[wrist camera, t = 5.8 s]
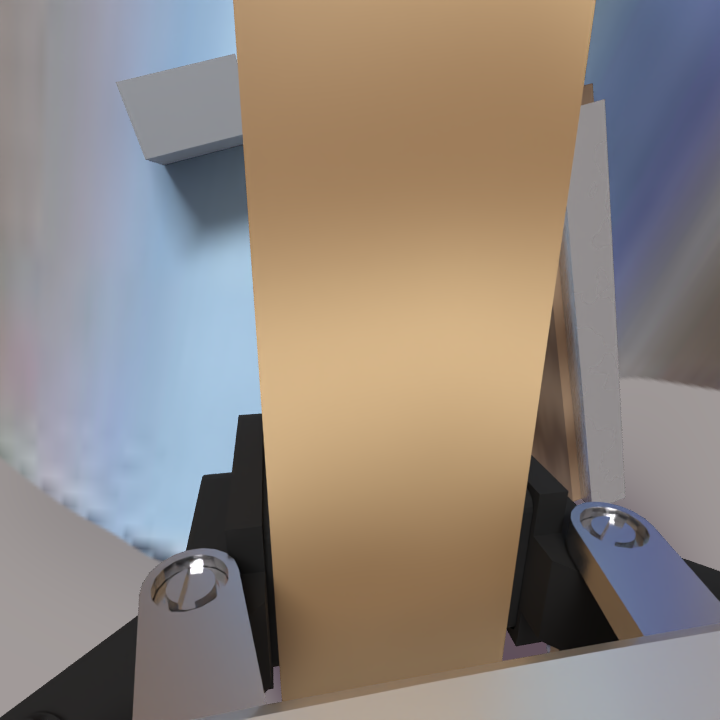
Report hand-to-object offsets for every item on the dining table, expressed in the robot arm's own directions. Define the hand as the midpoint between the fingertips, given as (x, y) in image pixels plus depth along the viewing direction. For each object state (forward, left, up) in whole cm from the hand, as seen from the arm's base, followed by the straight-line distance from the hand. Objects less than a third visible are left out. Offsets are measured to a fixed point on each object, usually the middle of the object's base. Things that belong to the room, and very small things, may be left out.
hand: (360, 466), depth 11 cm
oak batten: (0, 0, 0) cm, 0 cm away
